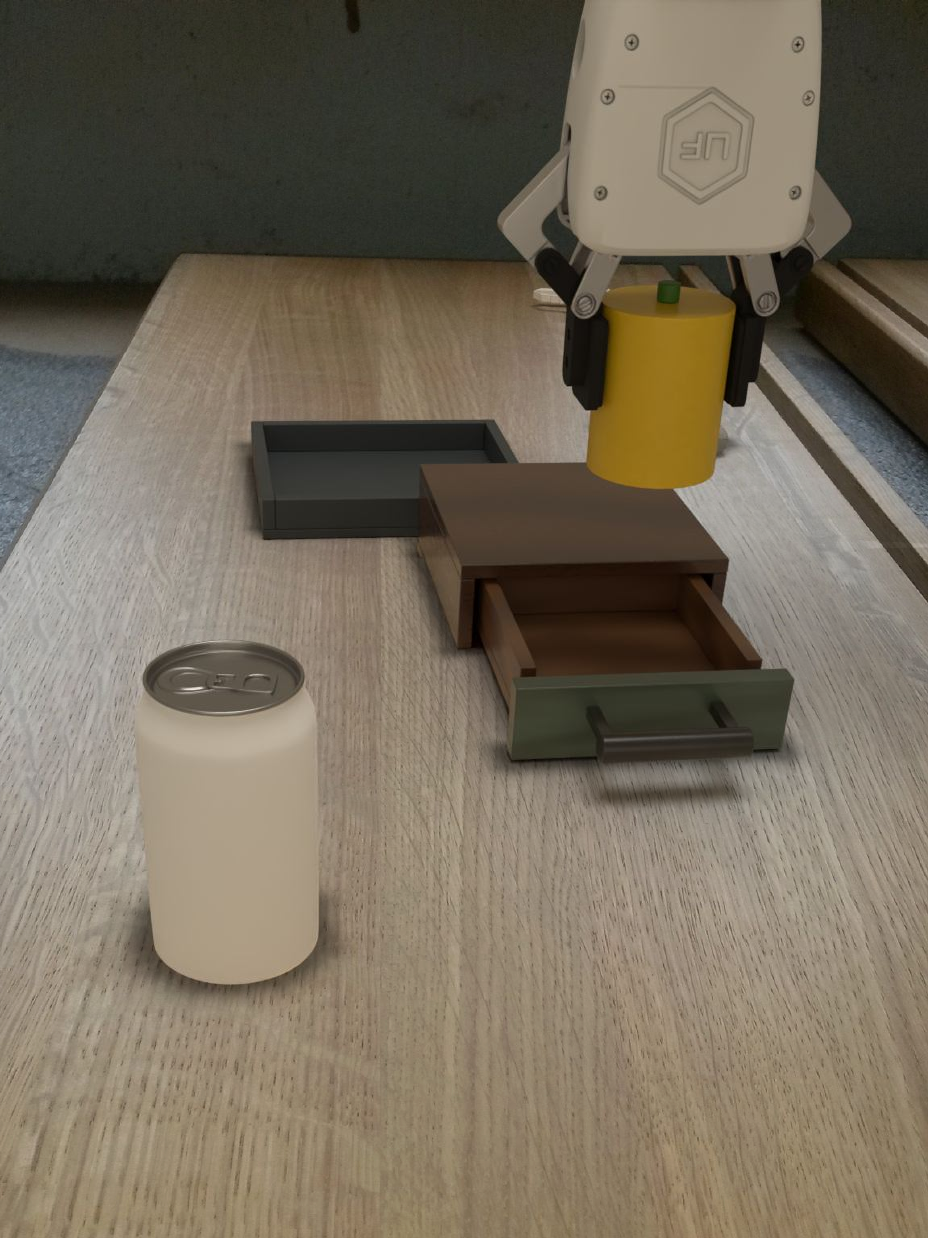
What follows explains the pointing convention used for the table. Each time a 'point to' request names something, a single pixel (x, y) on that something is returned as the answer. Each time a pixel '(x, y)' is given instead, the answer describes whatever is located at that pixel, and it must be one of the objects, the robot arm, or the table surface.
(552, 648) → the drawer
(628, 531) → the cabinet
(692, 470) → the yellow canister with knob
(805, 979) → the table surface
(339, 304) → the table surface
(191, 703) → the can
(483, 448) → the tray
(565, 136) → the robot arm
